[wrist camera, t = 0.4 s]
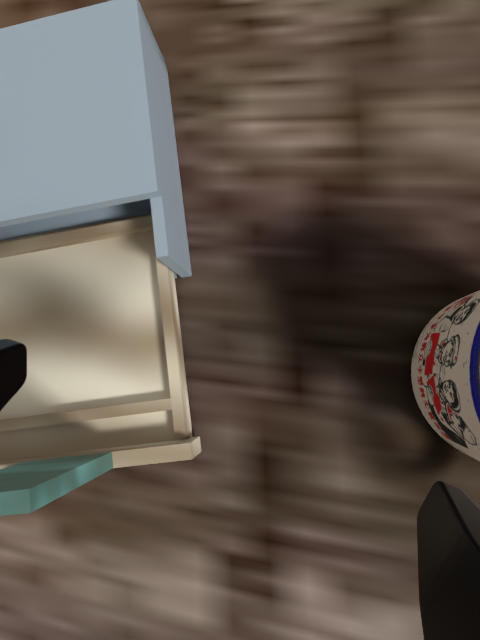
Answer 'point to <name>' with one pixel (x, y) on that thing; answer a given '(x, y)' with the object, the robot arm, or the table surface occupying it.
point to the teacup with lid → (451, 374)
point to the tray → (90, 360)
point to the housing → (89, 127)
